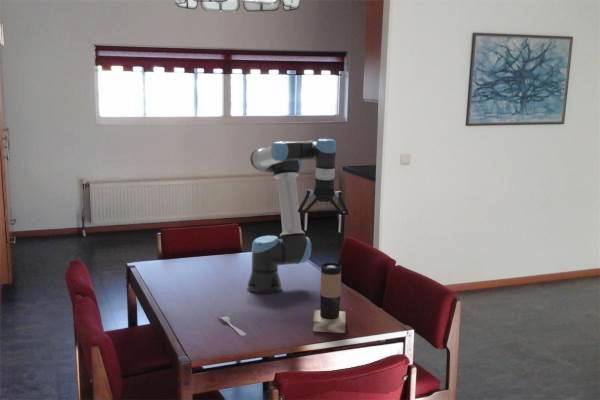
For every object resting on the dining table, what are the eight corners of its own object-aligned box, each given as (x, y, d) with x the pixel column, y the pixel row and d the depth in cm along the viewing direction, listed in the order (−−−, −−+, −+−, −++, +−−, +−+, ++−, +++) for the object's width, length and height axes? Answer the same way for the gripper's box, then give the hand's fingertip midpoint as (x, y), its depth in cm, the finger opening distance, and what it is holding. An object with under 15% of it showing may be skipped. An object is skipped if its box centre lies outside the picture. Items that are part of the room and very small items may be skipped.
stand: (313, 331, 237) (313, 321, 237) (314, 319, 249) (314, 309, 248) (345, 332, 237) (345, 322, 236) (345, 321, 248) (345, 311, 248)
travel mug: (338, 312, 246) (340, 262, 243) (341, 319, 239) (343, 268, 235) (318, 312, 245) (320, 262, 242) (320, 319, 238) (322, 268, 234)
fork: (240, 343, 231) (241, 336, 231) (215, 318, 248) (216, 312, 247) (247, 341, 233) (247, 334, 232) (222, 317, 249) (222, 311, 249)
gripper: (292, 178, 247) (290, 231, 251) (356, 181, 245) (353, 234, 249) (294, 175, 254) (292, 226, 258) (356, 178, 252) (353, 229, 257)
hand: (322, 230), depth 254 cm, fingers open, 13 cm apart
